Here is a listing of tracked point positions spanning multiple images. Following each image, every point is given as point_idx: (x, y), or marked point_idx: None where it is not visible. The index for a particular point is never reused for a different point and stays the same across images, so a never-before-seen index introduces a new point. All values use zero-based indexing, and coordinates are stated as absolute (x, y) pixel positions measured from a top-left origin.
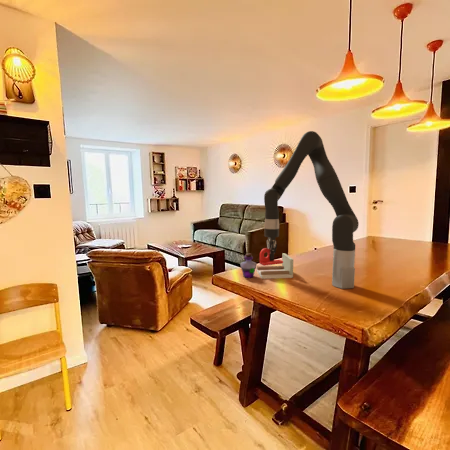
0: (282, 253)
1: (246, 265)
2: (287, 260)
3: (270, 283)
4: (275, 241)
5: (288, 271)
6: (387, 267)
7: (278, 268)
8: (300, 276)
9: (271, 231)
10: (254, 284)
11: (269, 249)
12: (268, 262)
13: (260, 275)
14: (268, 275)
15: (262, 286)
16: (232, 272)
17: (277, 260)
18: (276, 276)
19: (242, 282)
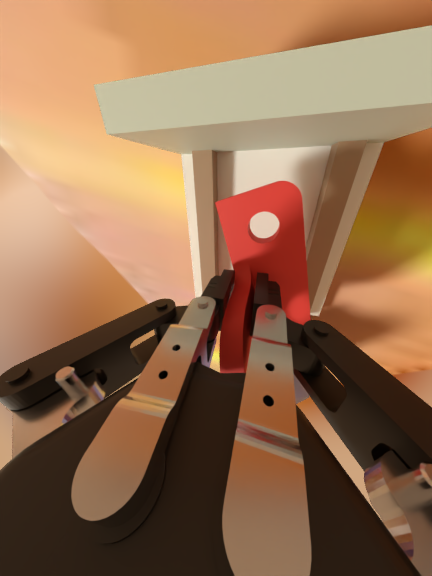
0: (110, 133)
1: (298, 401)
2: (327, 124)
3: (406, 298)
4: (307, 563)
5: (363, 148)
6: None
7: (216, 194)
8: (385, 7)
9: None
10: (376, 352)
11: (243, 372)
12: (297, 316)
13: None
14: (326, 289)
15: (425, 339)
16: (212, 359)
17: (248, 231)
18: (342, 247)
19: (330, 372)
